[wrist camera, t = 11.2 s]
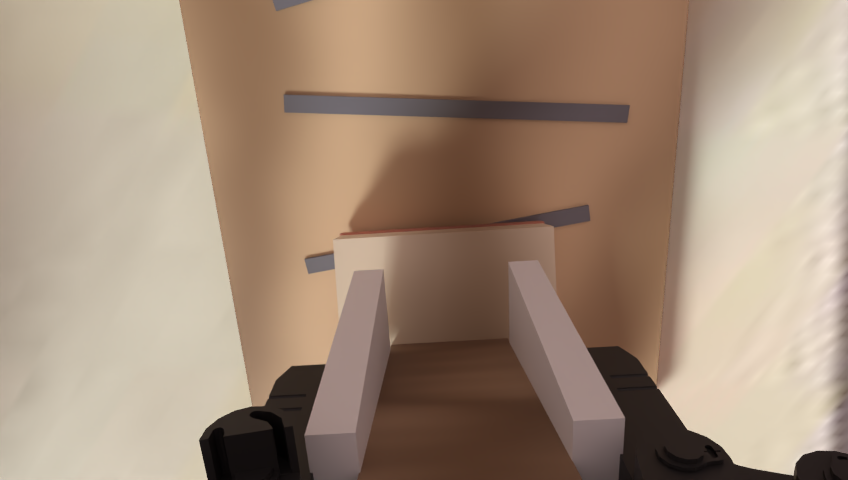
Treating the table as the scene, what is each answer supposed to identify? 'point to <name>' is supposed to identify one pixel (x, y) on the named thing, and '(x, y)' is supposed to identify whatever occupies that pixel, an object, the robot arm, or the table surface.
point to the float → (454, 355)
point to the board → (438, 148)
